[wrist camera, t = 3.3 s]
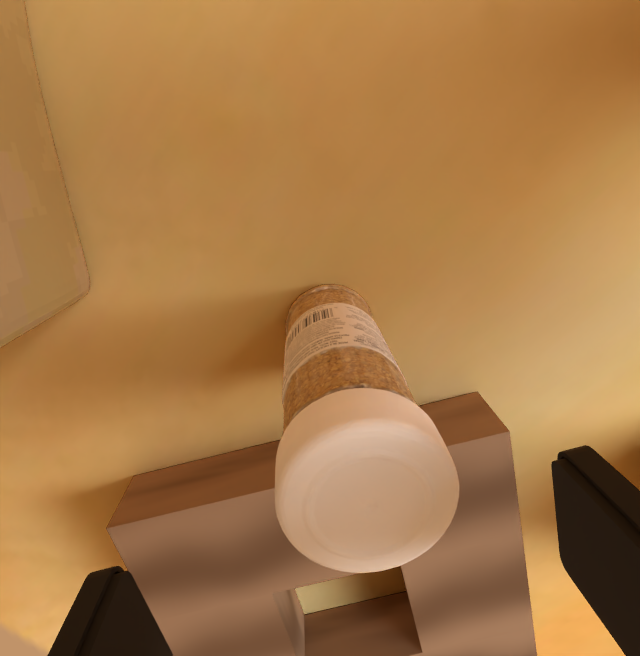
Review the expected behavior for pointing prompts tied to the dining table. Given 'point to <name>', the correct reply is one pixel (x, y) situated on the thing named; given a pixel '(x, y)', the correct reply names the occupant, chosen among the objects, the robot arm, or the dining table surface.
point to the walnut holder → (297, 570)
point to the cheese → (31, 195)
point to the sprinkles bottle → (355, 444)
